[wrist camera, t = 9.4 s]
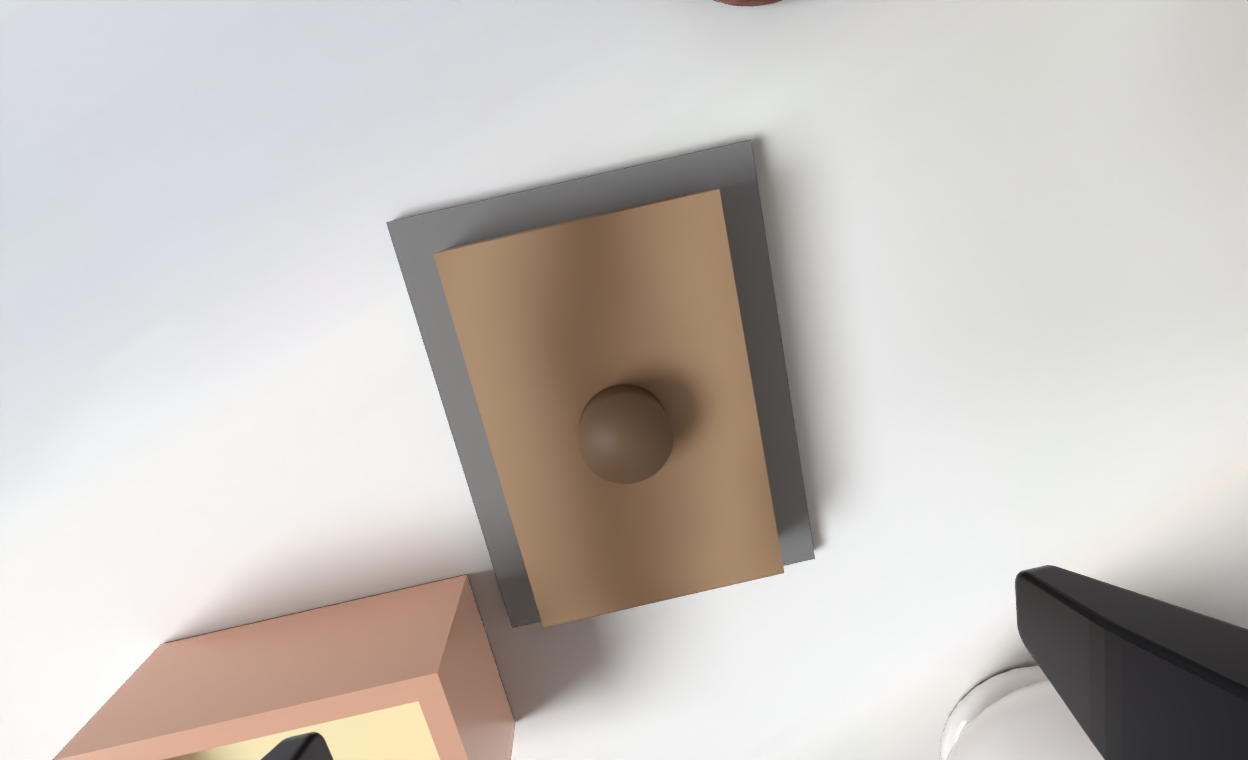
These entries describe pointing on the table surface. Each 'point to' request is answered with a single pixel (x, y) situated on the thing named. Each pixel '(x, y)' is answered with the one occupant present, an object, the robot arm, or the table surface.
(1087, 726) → the robot arm
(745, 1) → the supplement bottle
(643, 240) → the lid
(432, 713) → the dish
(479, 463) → the mat
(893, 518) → the table surface
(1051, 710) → the flower vase
